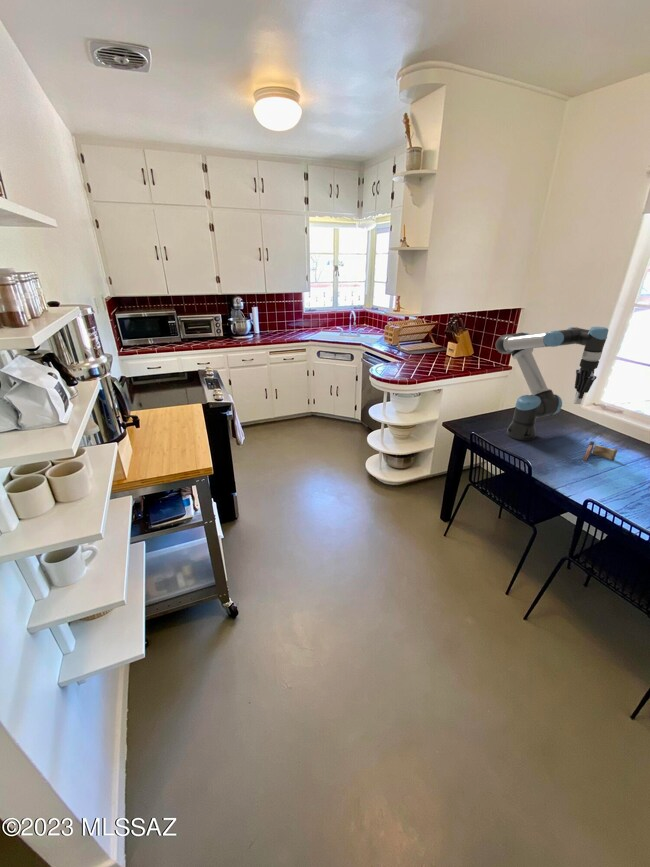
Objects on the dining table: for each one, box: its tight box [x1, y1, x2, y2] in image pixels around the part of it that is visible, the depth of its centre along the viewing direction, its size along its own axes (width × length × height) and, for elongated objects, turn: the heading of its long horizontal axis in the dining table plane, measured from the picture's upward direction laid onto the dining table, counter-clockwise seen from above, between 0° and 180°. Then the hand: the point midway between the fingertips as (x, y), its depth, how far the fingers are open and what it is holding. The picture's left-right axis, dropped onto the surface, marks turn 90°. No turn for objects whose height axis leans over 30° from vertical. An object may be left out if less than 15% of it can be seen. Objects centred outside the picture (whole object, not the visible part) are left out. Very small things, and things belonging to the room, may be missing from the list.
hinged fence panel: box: [583, 445, 594, 462], centre depth 185 cm, size 9×1×6 cm, turn 138°
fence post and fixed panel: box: [588, 440, 618, 461], centre depth 185 cm, size 12×2×6 cm, turn 43°
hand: (577, 403), depth 189 cm, fingers closed
